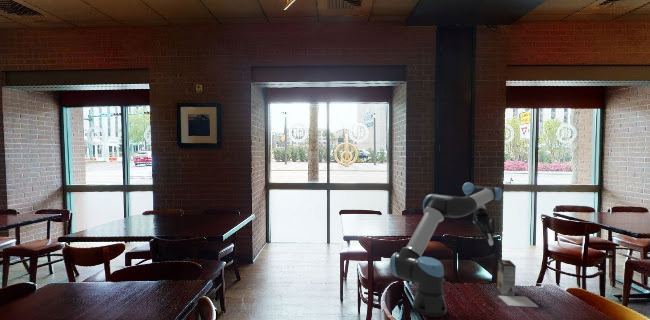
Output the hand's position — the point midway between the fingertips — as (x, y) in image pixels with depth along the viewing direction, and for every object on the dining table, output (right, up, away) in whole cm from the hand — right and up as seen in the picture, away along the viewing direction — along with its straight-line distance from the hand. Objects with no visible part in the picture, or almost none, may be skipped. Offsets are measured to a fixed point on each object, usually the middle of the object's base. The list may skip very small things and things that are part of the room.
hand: (491, 244), depth 192 cm
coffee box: (-1, -21, -17) cm, 27 cm away
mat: (-2, -21, -28) cm, 36 cm away
